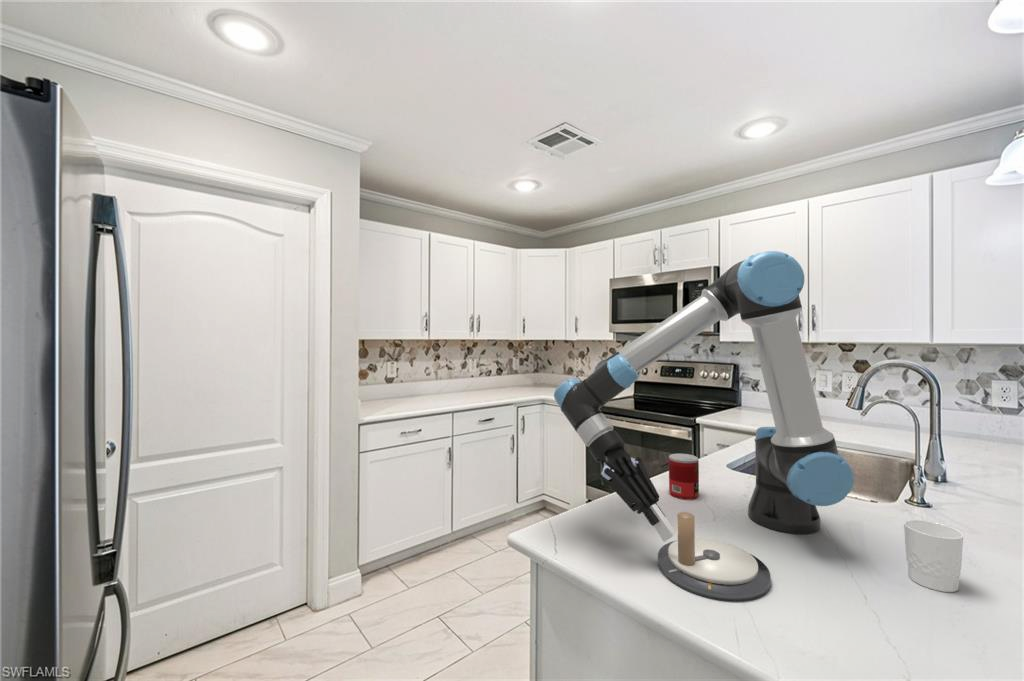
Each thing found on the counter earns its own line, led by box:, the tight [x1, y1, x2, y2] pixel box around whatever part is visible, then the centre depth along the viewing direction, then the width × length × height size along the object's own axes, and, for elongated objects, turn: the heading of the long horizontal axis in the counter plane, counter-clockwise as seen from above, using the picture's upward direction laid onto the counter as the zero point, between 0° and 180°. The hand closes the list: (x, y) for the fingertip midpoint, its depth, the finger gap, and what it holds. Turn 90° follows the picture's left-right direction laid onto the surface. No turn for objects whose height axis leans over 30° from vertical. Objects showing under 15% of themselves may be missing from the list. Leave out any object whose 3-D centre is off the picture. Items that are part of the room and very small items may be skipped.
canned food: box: [668, 453, 700, 500], centre depth 126 cm, size 8×8×11 cm
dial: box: [668, 511, 758, 585], centre depth 86 cm, size 16×16×10 cm
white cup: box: [903, 519, 964, 593], centre depth 81 cm, size 8×8×10 cm
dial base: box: [657, 539, 772, 603], centre depth 86 cm, size 20×20×2 cm
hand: (670, 537), depth 86 cm, fingers closed
